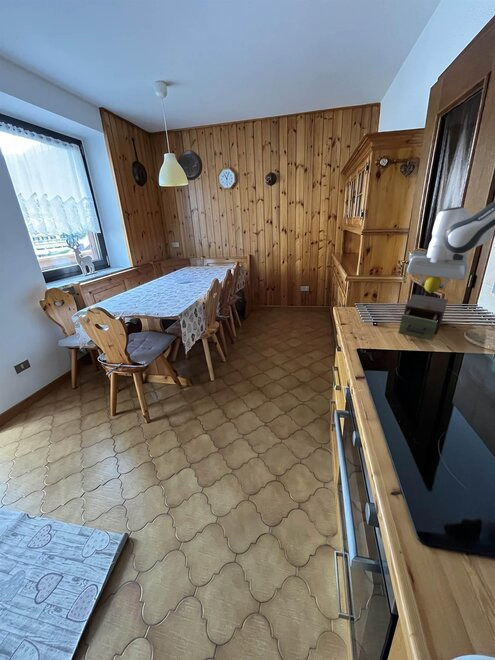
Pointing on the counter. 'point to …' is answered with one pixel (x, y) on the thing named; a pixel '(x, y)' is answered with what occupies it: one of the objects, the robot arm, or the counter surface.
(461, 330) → the counter surface
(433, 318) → the drawer
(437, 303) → the cabinet
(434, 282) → the lemon
